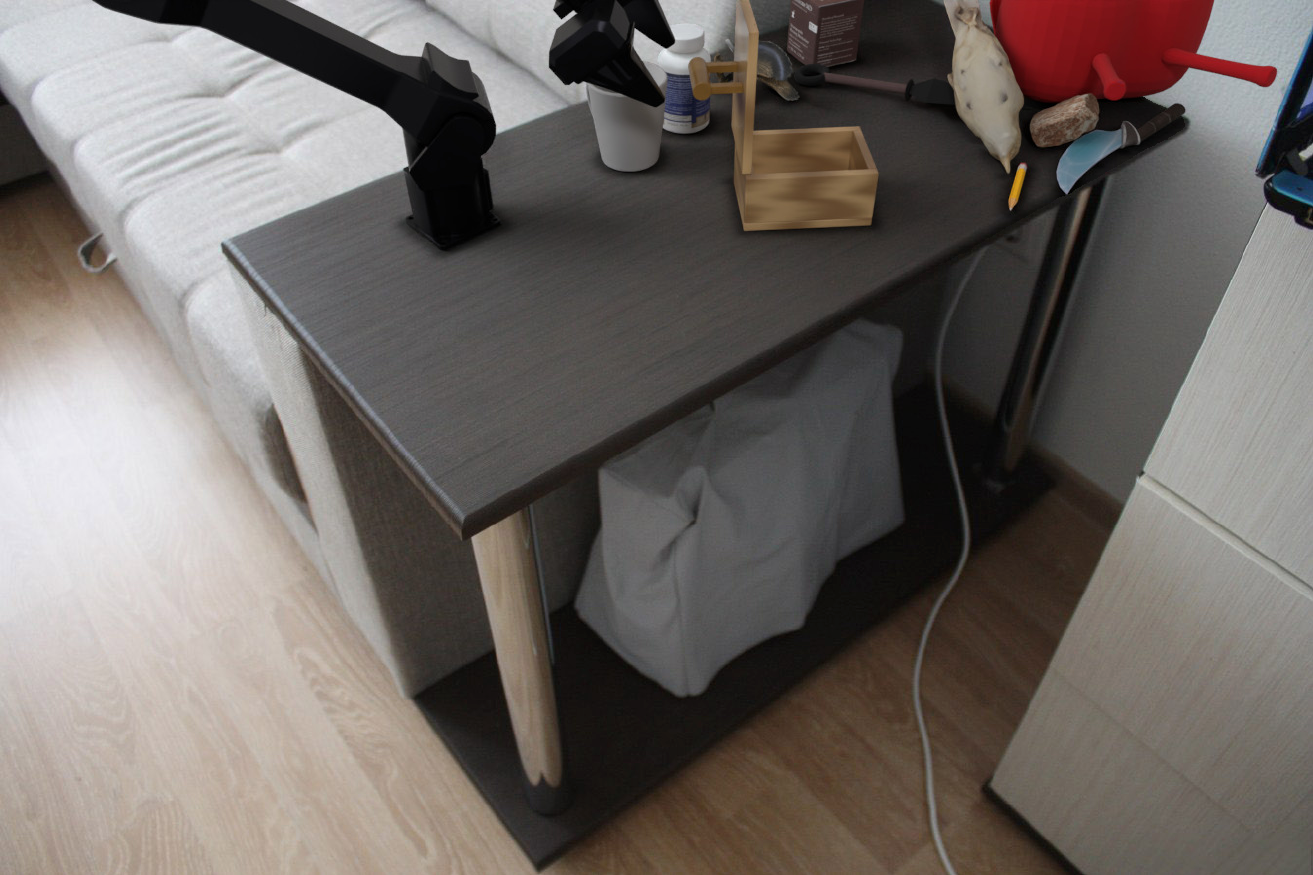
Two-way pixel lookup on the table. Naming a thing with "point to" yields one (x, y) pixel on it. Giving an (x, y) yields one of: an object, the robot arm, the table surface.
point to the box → (824, 31)
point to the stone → (1065, 121)
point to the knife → (1107, 145)
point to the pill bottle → (684, 81)
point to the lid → (735, 81)
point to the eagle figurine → (767, 69)
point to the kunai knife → (886, 86)
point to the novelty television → (1108, 47)
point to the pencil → (1017, 185)
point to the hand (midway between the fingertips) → (666, 73)
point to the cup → (628, 125)
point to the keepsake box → (807, 179)
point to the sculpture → (984, 82)
